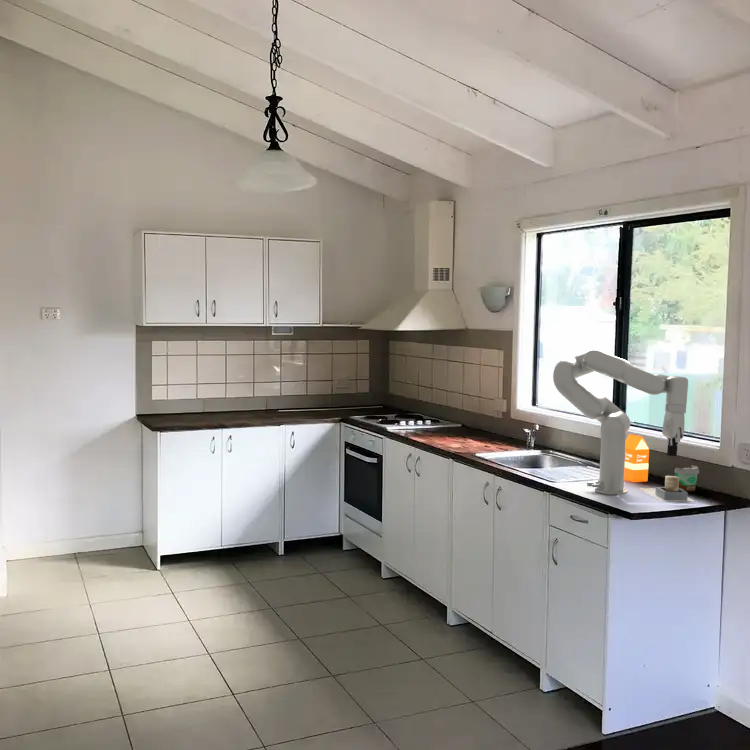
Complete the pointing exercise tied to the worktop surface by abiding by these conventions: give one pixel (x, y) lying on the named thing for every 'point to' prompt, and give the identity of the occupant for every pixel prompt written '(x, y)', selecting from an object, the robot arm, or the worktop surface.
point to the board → (652, 492)
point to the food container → (687, 477)
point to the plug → (671, 483)
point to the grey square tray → (671, 494)
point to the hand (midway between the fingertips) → (671, 455)
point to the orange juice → (636, 459)
